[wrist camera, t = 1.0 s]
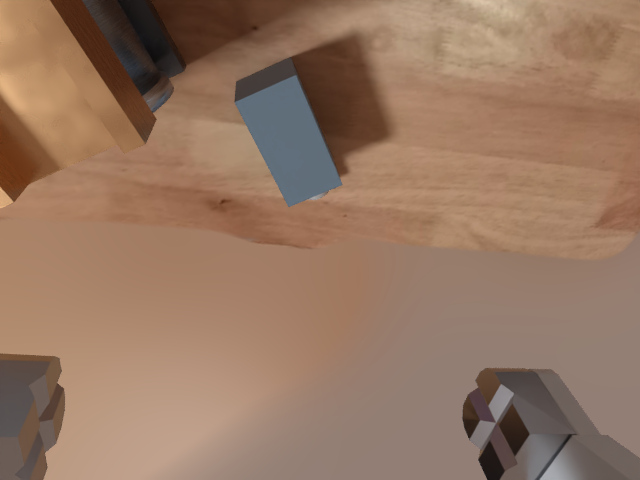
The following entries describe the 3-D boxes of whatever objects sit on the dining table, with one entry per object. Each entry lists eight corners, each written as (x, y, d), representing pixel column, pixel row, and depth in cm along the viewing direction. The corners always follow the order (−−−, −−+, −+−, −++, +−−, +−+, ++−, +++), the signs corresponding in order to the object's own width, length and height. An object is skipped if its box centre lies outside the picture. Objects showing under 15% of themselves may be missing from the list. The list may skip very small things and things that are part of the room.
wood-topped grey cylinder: (58, -169, 27) (-81, -229, 16) (186, 65, 35) (156, 139, 24) (-88, -90, 28) (-318, -93, 17) (68, 119, 36) (-16, 215, 25)
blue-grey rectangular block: (290, 56, 36) (295, 74, 32) (339, 174, 42) (349, 202, 38) (236, 81, 36) (234, 102, 32) (292, 193, 42) (297, 223, 38)
